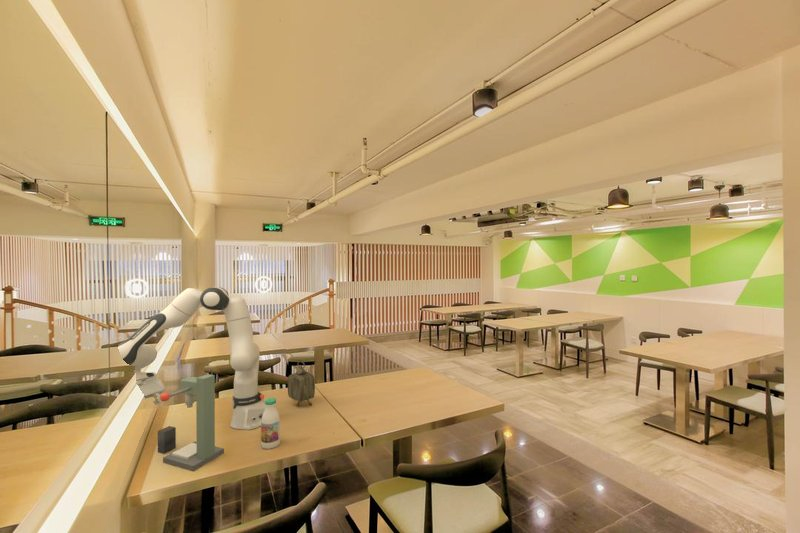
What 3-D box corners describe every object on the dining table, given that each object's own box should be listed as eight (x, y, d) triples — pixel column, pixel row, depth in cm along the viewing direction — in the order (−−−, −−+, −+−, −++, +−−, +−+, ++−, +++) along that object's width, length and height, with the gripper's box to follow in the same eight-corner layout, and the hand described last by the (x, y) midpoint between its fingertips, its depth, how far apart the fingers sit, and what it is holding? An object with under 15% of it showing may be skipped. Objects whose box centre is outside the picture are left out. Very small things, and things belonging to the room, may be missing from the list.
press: (143, 472, 132) (143, 383, 132) (195, 445, 152) (194, 368, 152) (174, 482, 126) (174, 388, 126) (224, 453, 146) (223, 372, 146)
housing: (169, 446, 151) (169, 426, 151) (175, 448, 150) (175, 427, 150) (157, 452, 147) (157, 431, 147) (164, 454, 145) (164, 432, 145)
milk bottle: (264, 441, 156) (264, 396, 156) (281, 440, 156) (281, 395, 156) (258, 450, 148) (258, 403, 148) (277, 449, 149) (277, 402, 149)
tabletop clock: (315, 405, 196) (314, 361, 196) (301, 410, 189) (300, 364, 189) (300, 399, 205) (300, 357, 205) (286, 404, 198) (286, 360, 198)
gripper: (109, 384, 146) (124, 411, 142) (158, 371, 165) (172, 395, 161) (102, 393, 148) (117, 420, 144) (152, 379, 167) (165, 403, 163)
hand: (146, 407), depth 153 cm, fingers open, 8 cm apart
